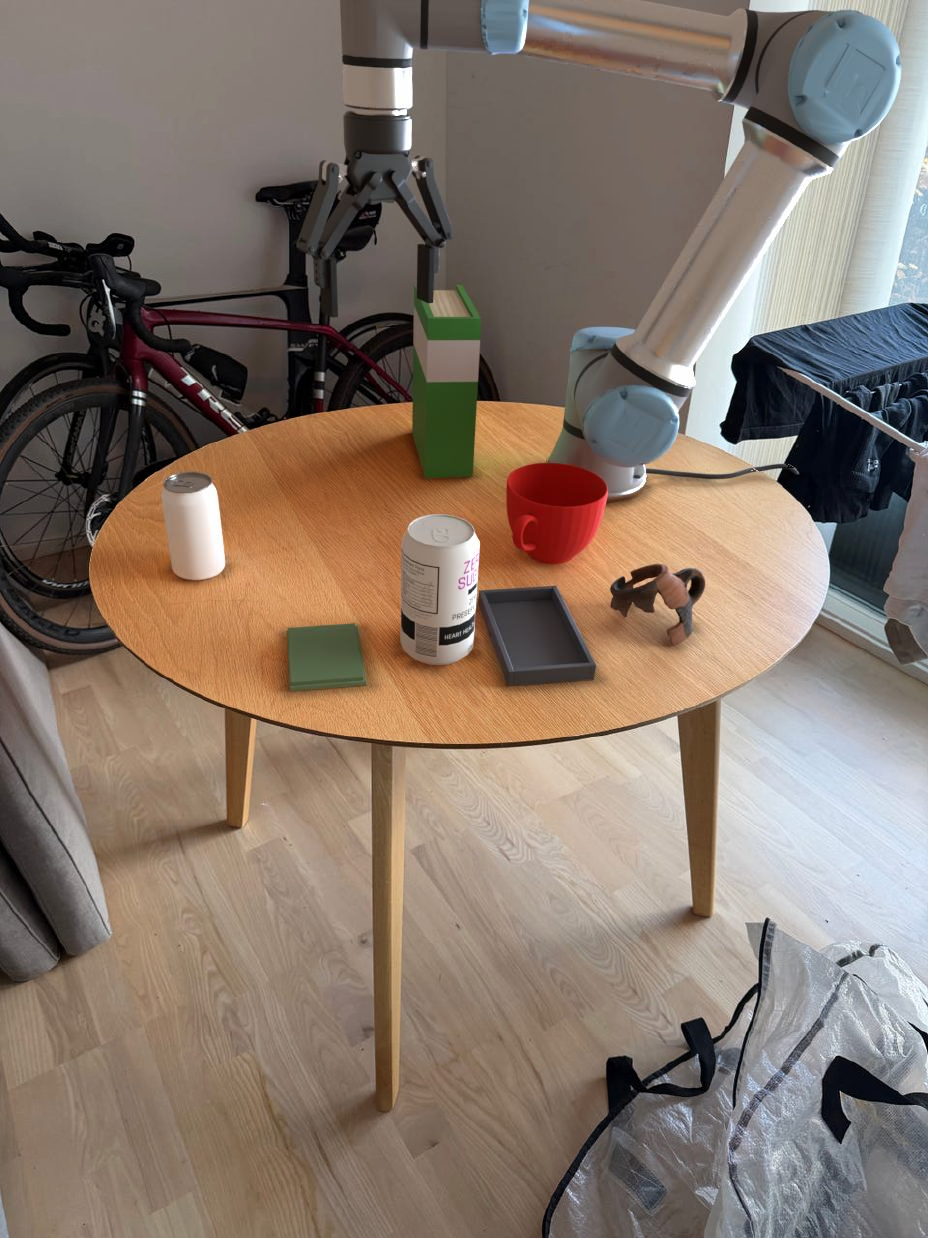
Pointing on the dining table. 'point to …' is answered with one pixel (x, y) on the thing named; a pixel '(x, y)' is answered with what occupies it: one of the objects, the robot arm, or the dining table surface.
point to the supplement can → (438, 588)
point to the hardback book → (445, 382)
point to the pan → (535, 636)
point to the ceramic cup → (554, 510)
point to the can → (193, 526)
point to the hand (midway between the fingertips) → (378, 307)
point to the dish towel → (325, 657)
